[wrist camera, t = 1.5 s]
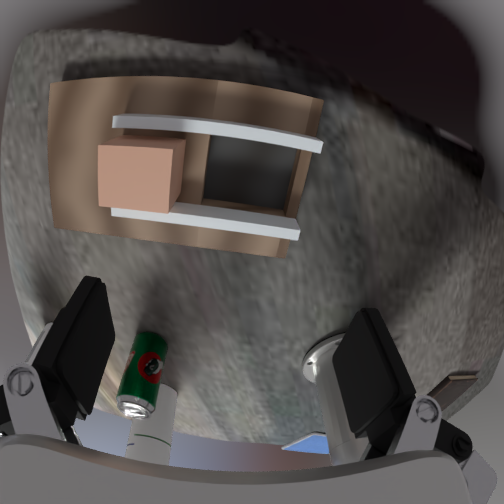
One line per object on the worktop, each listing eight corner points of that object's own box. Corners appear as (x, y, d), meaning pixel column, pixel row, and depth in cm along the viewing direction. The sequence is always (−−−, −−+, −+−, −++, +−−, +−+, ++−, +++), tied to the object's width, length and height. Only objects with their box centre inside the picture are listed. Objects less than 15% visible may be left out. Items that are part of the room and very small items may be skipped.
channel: (315, 137, 23) (323, 141, 21) (293, 228, 28) (297, 240, 25) (124, 113, 21) (113, 115, 19) (121, 205, 26) (111, 215, 23)
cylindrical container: (132, 387, 45) (108, 508, 24) (156, 377, 43) (133, 514, 22) (161, 404, 48) (145, 518, 27) (185, 396, 46) (173, 522, 25)
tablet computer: (359, 435, 64) (360, 439, 63) (327, 451, 69) (328, 454, 68) (313, 429, 58) (313, 434, 57) (279, 445, 63) (280, 449, 62)
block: (186, 139, 23) (173, 149, 18) (180, 192, 25) (168, 213, 21) (122, 134, 22) (98, 145, 18) (121, 186, 25) (98, 206, 20)
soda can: (133, 326, 37) (110, 397, 26) (167, 332, 37) (151, 406, 27) (137, 349, 39) (118, 415, 29) (169, 354, 40) (155, 423, 30)
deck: (318, 99, 23) (323, 100, 21) (282, 248, 31) (285, 258, 29) (61, 82, 20) (50, 83, 18) (62, 220, 28) (54, 227, 26)
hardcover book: (474, 373, 54) (478, 379, 52) (423, 418, 65) (425, 424, 63) (446, 373, 51) (450, 380, 49) (389, 422, 62) (391, 429, 60)
